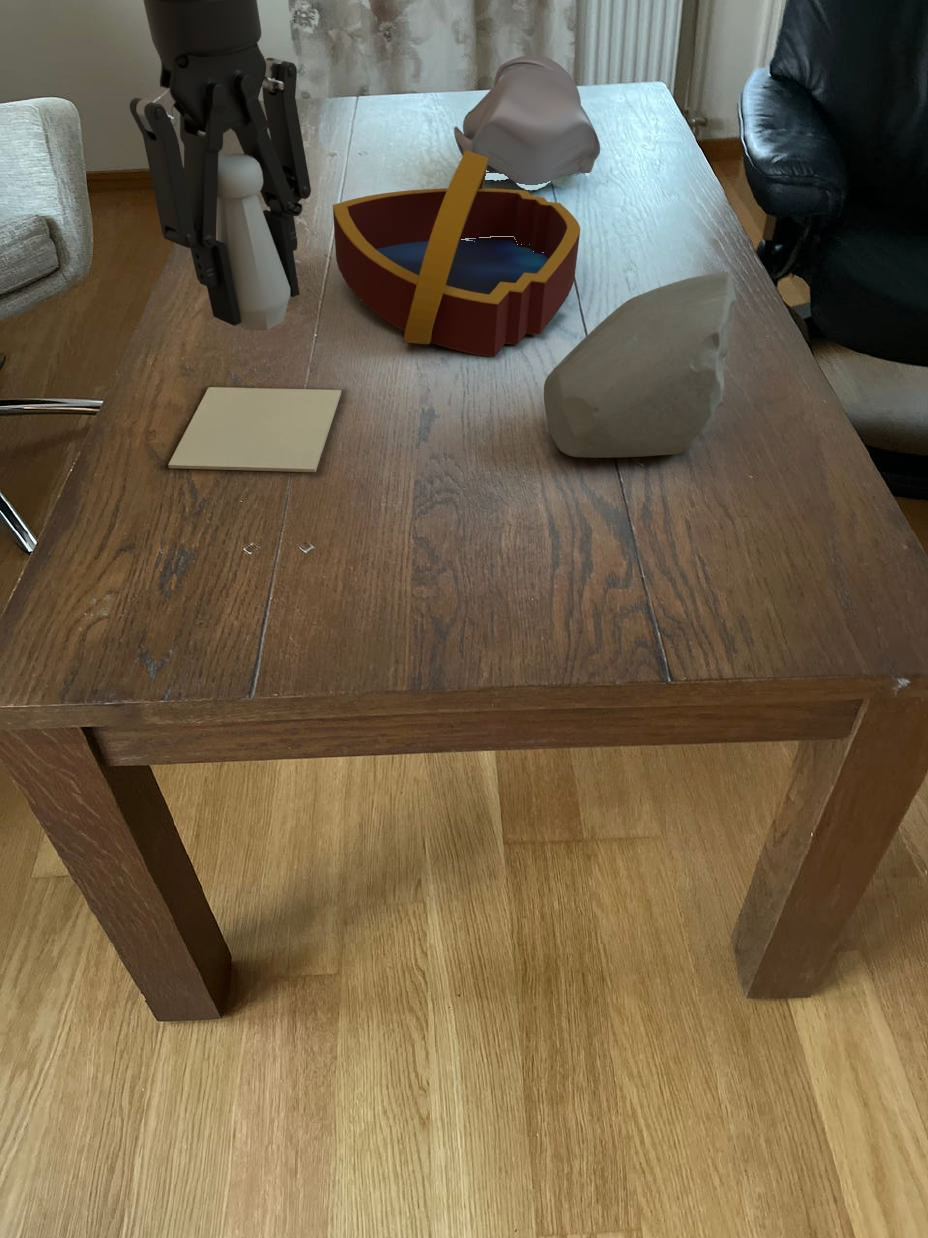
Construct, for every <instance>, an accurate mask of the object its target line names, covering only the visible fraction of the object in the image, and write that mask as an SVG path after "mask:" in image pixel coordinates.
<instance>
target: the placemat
mask: <svg viewBox="0 0 928 1238" xmlns="http://www.w3.org/2000/svg"><path fill="white" fill-rule="evenodd" d="M341 396H342V390H341V389H315V388H313V389H311V388H307V389H304V388H267V387H266V388H265V387H264V388H262V387H261V388H260V387H222V386H221V387H219V386H218V387H216V386H208V387H207V390H206V392H205V393H204V395H203V397H202V399H201V401H200V403H199V404H198V407H197V408H196V411H195V412H194V414H193V416H192V418H191V420H190V422H189V424H188V425H187V428H186V430H185V431H184V433H183V435H182V438H181V439H180V441H179V442H178V444H177V447H176V449H175V451H174V453H173V455H172V456H171V458H170V461H169V462H168V464H167V466H168V469H182V470H215V471H216V470H217V471H253V472H285V473H287V472H288V473H289V472H290V473H316V472H317V469H318V466H319V463H320V461H321V460H320V459H321V457H322V454H323V451H324V448H325V445H326V443H327V442H326V441H327V438H328V435H329V432H330V430H331V426H332V423H333V421H334V418H335V414H336V411H337V408H338V405H339V401H340V398H341Z"/></svg>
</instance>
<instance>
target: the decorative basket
mask: <svg viewBox="0 0 928 1238" xmlns="http://www.w3.org/2000/svg"><path fill="white" fill-rule="evenodd" d="M487 163H488V158H487V157H485V156H482V155H479V154H476V153H473V152H470V151H467V150H465V152H464V154H463V157H462V156H461V159H460V161H459V163H458V165H457V168H456V170H455V172H454V174H453V175H452V178H451V180H450V182H449V185H448V186H447V187H442V188H441V187H439V188H423V189H422V188H421V189H409V190H397V191H391V192H384V193H376V194H371V195H366V196H361V197H357V198H352V199H347V200H345V201H341V202H338V203H334V204H332V217H333V232H334V233H333V234H334V249H335V259H336V260H335V261H336V263H337V264H336V265H337V267H338V270H339V272H340V274H341V276H342V278H343V280H344V281H345V283H346V284H347V286H348V287H349V289H350V290H351V292H352V293H353V294H354V295H355V297H356V298H358V300H359V301H360V302H362V303H363V304H364V305H365V306H366V307H367V308H368V309H370V311H372V312H373V313H375V314H376V315H378V316H379V317H380V318H381V319H383V320H385V321H387V322H388V323H389V324H391V325H393V326H394V327H396V328H398V329H399V330H401V331H404V335H403V340H404V343H408V344H420V345H430V344H435V345H437V346H441V347H443V348H444V347H445V348H447V349H451V350H456V351H460V352H463V353H467V354H474V355H479V356H485V357H493V358H494V357H495V356H496V355H497V354H498V353H499V352H500V350H501V349H503V347H504V345H505V344H507V345H515V346H516V345H519V343H520V342H521V341H522V339H523V338H524V337H525V335H527V334H528V335H530V334H531V335H537V336H538V335H541V334H542V332H543V331H544V330H545V328H546V327H547V326H548V325H549V324H550V322H551V321H552V320H553V318H554V317H555V316H556V314H557V313H558V311H559V310H560V309H561V307H562V306H563V304H564V303H565V301H566V300H567V298H568V296H569V294H570V292H571V289H572V288H573V285H574V283H575V277H576V269H577V261H578V252H579V246H580V245H579V244H580V237H581V226H580V224H579V222H578V221H577V219H576V218H575V217H574V215H573V214H572V213H571V212H570V211H569V210H568V209H567V208H566V207H565V206H564V205H563V204H562V203H561V202H555V201H554V202H553V201H548V200H547V199H546V198H545V197H544V196H537V195H536V196H535V195H532V194H531V193H530V191H526V190H523V189H511V188H509V189H508V188H490V187H485V188H484V185H485V181H486V180H485V176H486V170H487ZM490 236H514V237H515V239H516V240H515V239H514V237H491V238H479V237H490ZM465 238H476V239H469V240H473V241H466V240H461V239H465ZM474 241H475V242H474ZM516 241H517V242H516ZM517 244H518V245H517ZM521 244H522V245H521ZM529 244H530V245H529ZM533 251H534V252H533ZM542 252H544V253H542Z"/></svg>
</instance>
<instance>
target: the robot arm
mask: <svg viewBox="0 0 928 1238" xmlns="http://www.w3.org/2000/svg"><path fill="white" fill-rule="evenodd" d="M142 1H143V5H144V10H145V15H146V19H147V24H148V28H149V33H150V37H151V42H152V44H153V46H154V48H155V50H156V52H157V54H158V57H159V60H160V75H159V88H158V89H156V90H155V91H154V92H152V93H151V94H150V95H148V96H147V97H146V98H144V99H143V98H141V97H134V98H132V100H130V102H129V111H130V113H131V116H132V117H133V119H134V121H135V123H136V125H137V127H138V129H139V131H140V133H141V135H142V138H143V144H144V149H145V154H146V158H147V163H148V169H149V174H150V179H151V184H152V189H153V193H154V194H153V195H154V199H155V204H156V208H157V213H158V218H159V223H160V229H161V233H162V236H163V238H164V239H165V240H166V241H169V242H172V243H174V244H177V245H179V246H182V247H184V248H187V249H190V254H191V258H192V262H193V266H194V270H195V274H196V279H197V280H198V282H199V284H201V285H203V286H204V287H206V289H207V294H208V298H209V303H210V308H211V313H212V316H213V318H215V319H217V320H220V321H222V322H224V323H227V324H229V325H231V326H234V327H236V326H237V325H238V324H240V323H242V322H241V317H240V312H239V307H238V302H237V297H236V292H235V287H234V282H233V277H232V271H231V266H230V261H229V256H228V251H227V246H226V244H225V243H222V242H220V241H218V239H217V223H218V221H217V185H218V156H219V153H220V151H222V149H223V148H224V134H225V133H227V132H229V130H230V129H231V130H232V131H233V132H234V133H235V135H236V138H237V141H238V142H239V146H240V147H241V150H242V152H243V154H246V155H250V156H252V157H253V158H255V159H256V160H257V161H258V163H259V164H260V167H261V170H262V173H263V186H262V188H261V190H260V191H259V192H260V194H261V196H262V199H263V201H264V204H265V205H266V207H268V208H269V209H263V210H262V211H263V214H264V216H265V219H266V222H267V225H268V228H269V230H270V233H271V236H272V239H273V241H274V244H275V247H276V250H277V253H278V255H279V258H280V261H281V264H282V266H283V269H284V272H285V275H286V278H287V280H288V283H289V286H290V297H291V298H295V297H297V296H299V295H300V286H299V280H298V274H297V268H296V263H295V262H296V261H295V254H294V251H297V250H298V237H297V229H296V222H295V217H299V216H300V215H301V214H302V212H303V204H302V203H300V201H301V200H302V199H303V200H307V199H309V198H310V196H311V193H312V187H311V182H310V181H311V180H310V175H309V169H308V163H307V157H306V153H305V146H304V140H303V134H302V129H301V123H300V116H299V110H298V105H297V99H296V92H297V76H298V70H297V66H296V64H295V63H294V62H292V61H287V60H284V59H283V60H282V59H278V58H274V57H267V58H266V59H265V56H264V54H263V53H262V51H261V49H260V47H259V44H258V43H259V42H260V40H261V38H262V26H261V20H260V14H259V6H258V0H142ZM261 91H262V99H263V100H262V101H263V105H264V109H263V107H262V104H261V102H260V99H259V96H260V93H261ZM174 109H175V110H176V111H177V112H178V113H179V137H180V141H181V142H182V144H183V160H182V154H181V148H180V143H179V139H178V135H177V133H176V130H175V128H174V126H176V125H177V120H178V119H177V118H176V116H174V111H173V110H174ZM264 111H265V112H264ZM201 132H202V133H201ZM203 133H204V134H203ZM238 326H239V325H238Z"/></svg>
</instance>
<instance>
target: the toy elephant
mask: <svg viewBox="0 0 928 1238" xmlns="http://www.w3.org/2000/svg"><path fill="white" fill-rule="evenodd" d="M581 101H582V100H581V96H580V92H579V89H578V86H577V84H576V82H575V81H574V79H573V77H572V76H571V75H570V73H569V72H568V71H567V70H566V69H565V68H564V67H563V66H562V65H560V64H559V63H558V62H556V61H555V60H553V59H551V58H549V57H546V56H543V55H536V54H535V55H534V54H532V55H531V54H530V55H529V54H528V55H523V56H522V55H521V56H517V57H515V58H512V59H510V60H508V61H506V62H504V63H503V64H501V65H500V66H499V67H498V69H497V71H496V73H495V76H494V82H493V86H492V87H491V89H490V90H489V91H488V92H487V93H486V94H485V95H484V96H483V97H482V99H481V100H480V101H479V102H478V103H477V104H476V105H475V106H474V107H473V108H472V109H471V110H469V111H468V112H467V113H466V115H465V116H464V118H463V122H462V130H460V128H459V127H458V126H454V127H453V135H454V139H455V143H456V146H457V149H458V150H459V153H460V155H461V158H462V157H463V154H464V152H465V150H467V151H470V152H473V153H476V154H479V155H482V156H485V157H487V158H488V163H487V171H489V172H486V173H499V174H504V175H505V176H507V177H508V178H510V179H509V180H512V181H513V182H514V183H515V182H516V183H519V184H525V185H538V184H543V183H547V182H549V181H551V180H553V179H554V180H557V179H559V177H560V178H564V177H568V176H567V175H569V176H574V175H573V174H578V175H579V174H584V173H590V172H591V173H592V171H593V168H594V165H595V162H596V160H597V159H598V157H599V156H600V154H601V143H600V139H599V137H598V134H597V131H596V130H595V127H594V125H593V123H592V121H591V120H590V118H589V116H588V113H587V112H586V110H585V109H584V108H583V106H582V102H581ZM591 173H590V174H591ZM563 176H564V177H563ZM556 178H557V179H556ZM554 180H553V181H554ZM516 183H515V184H516ZM522 191H526V190H525V189H522ZM528 192H530V191H529V190H528Z"/></svg>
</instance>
